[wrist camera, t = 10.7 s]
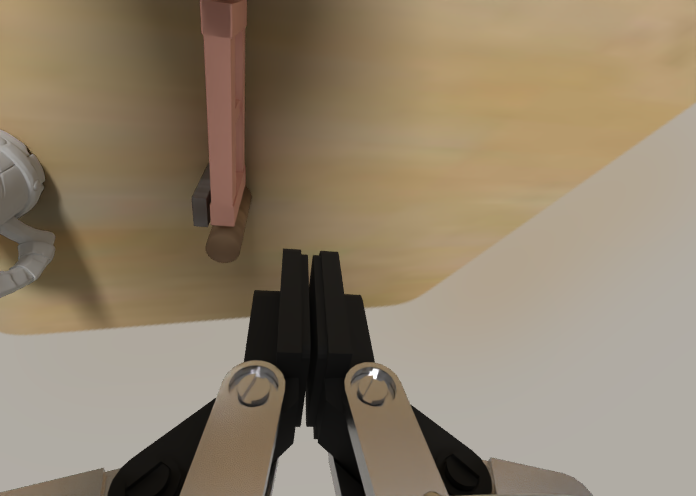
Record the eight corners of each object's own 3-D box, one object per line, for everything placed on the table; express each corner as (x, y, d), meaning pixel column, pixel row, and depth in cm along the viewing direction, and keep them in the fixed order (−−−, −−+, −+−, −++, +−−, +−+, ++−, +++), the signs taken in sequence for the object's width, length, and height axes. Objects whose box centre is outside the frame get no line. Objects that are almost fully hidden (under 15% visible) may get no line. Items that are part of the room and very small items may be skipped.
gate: (222, -6, 26) (199, -2, 20) (246, -2, 26) (231, 4, 20) (226, 181, 33) (210, 224, 28) (245, 183, 34) (234, 226, 28)
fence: (188, -232, 21) (133, -337, 14) (257, -214, 22) (236, -306, 15) (210, 205, 35) (189, 260, 28) (251, 208, 36) (240, 263, 29)
